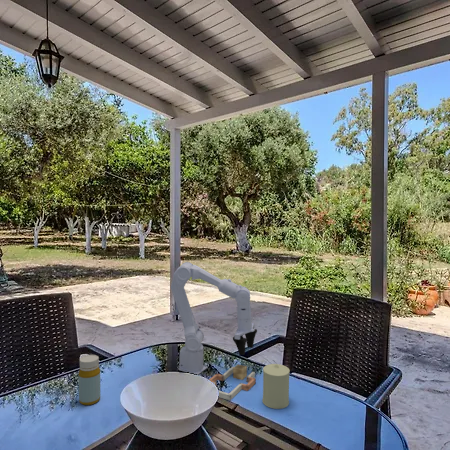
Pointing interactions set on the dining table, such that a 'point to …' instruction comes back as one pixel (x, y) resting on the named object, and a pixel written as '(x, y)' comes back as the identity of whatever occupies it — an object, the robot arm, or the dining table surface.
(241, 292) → the robot arm
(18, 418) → the dining table surface
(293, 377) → the dining table surface
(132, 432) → the dining table surface
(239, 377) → the block
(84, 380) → the bottle
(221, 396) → the cream and orange frame
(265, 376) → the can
